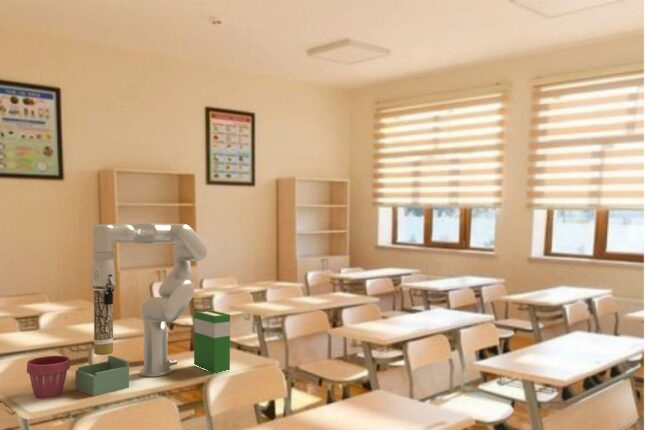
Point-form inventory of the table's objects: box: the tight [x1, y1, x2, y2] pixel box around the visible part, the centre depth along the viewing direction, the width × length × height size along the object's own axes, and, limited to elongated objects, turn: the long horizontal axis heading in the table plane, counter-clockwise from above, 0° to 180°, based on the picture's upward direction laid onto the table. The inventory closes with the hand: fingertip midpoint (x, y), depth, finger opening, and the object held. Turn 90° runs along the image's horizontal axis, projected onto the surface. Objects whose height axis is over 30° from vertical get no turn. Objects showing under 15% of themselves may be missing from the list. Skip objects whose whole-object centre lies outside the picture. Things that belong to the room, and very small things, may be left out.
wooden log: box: [93, 287, 114, 356], centre depth 206 cm, size 7×7×25 cm
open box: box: [74, 355, 130, 397], centre depth 205 cm, size 14×14×10 cm
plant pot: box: [26, 355, 71, 400], centre depth 197 cm, size 14×14×13 cm
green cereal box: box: [193, 309, 231, 374], centre depth 234 cm, size 18×7×24 cm, turn 42°
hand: (103, 302), depth 206 cm, fingers closed on wooden log, 6 cm apart
